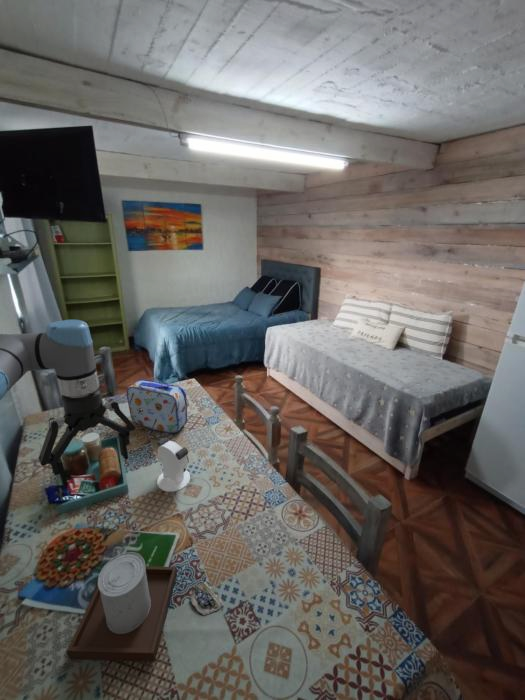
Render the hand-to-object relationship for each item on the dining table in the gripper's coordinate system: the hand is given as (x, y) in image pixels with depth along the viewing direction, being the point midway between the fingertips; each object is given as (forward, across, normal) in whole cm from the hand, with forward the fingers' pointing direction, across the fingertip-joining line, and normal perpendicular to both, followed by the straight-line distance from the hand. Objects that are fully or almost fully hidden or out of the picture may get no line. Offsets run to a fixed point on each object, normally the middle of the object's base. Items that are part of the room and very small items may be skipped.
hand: (96, 469), depth 76 cm
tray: (+29, -2, -17) cm, 34 cm away
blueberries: (+29, +12, -27) cm, 41 cm away
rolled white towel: (+28, -2, -17) cm, 33 cm away
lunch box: (+29, +38, +48) cm, 67 cm away
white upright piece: (+29, +26, +13) cm, 41 cm away
